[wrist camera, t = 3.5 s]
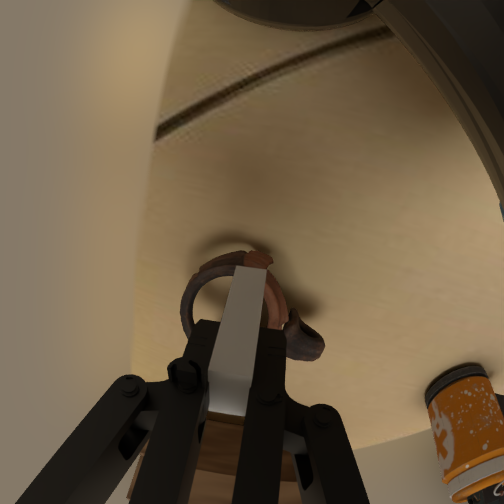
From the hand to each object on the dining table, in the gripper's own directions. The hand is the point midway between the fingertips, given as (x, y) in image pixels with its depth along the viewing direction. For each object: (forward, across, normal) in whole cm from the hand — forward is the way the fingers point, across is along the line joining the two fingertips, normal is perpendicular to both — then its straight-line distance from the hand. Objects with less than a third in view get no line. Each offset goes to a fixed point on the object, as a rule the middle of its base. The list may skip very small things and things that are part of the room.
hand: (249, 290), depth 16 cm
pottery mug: (+11, +1, -9) cm, 14 cm away
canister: (+10, +28, -19) cm, 35 cm away
